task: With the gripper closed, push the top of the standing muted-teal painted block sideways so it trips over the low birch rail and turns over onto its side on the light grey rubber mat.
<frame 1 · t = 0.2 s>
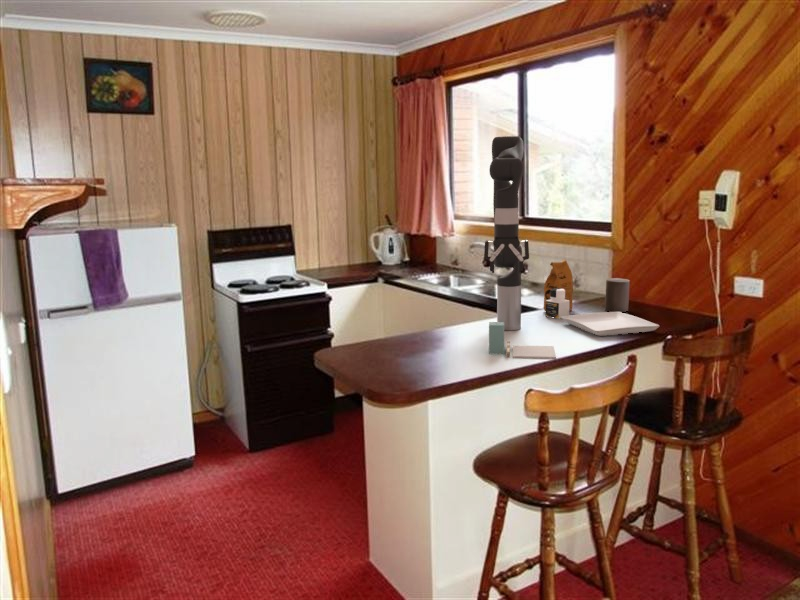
hand: (506, 272, 216), 29 cm above the countertop, tool pointing down, fingers open, 8 cm apart
medicine bottle: (557, 317, 283), on the countertop
coffee package: (557, 311, 294), on the countertop
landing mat: (533, 352, 228), on the countertop
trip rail: (508, 352, 230), on the countertop
square plate: (608, 329, 260), on the countertop
teal block: (496, 352, 230), on the countertop
pillar candle: (616, 311, 291), on the countertop
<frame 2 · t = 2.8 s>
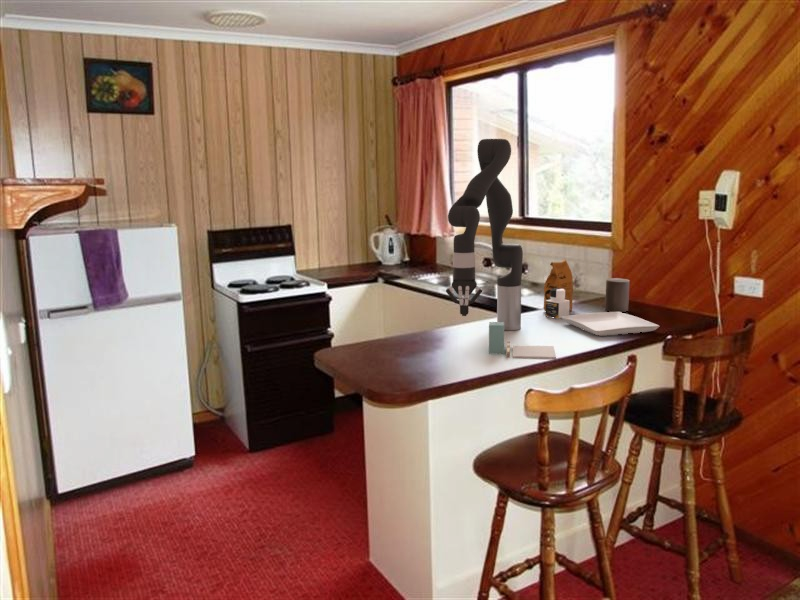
hand: (464, 315, 230), 13 cm above the countertop, tool pointing down, fingers closed
nothing on the countertop moved.
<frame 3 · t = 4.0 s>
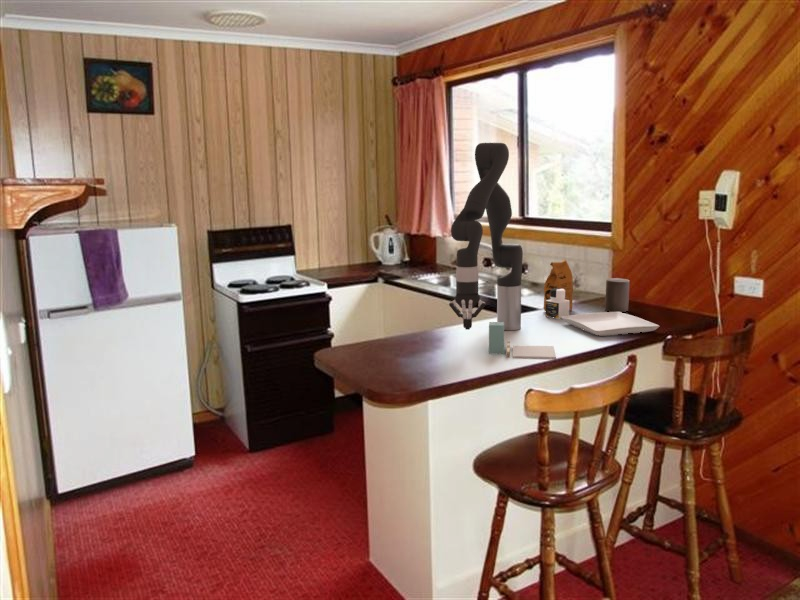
hand: (467, 329, 231), 8 cm above the countertop, tool pointing down, fingers closed
nothing on the countertop moved.
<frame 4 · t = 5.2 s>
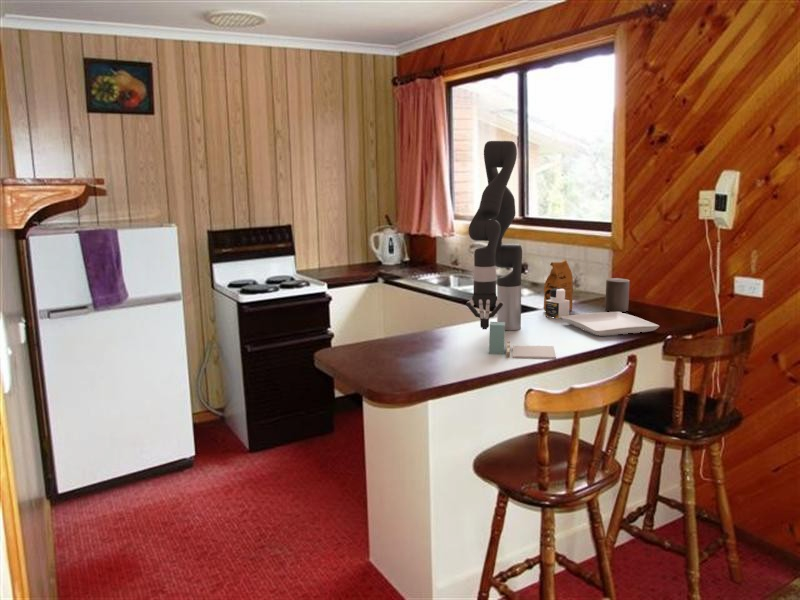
hand: (484, 328, 230), 8 cm above the countertop, tool pointing down, fingers closed
teal block: (496, 351, 230), on the countertop, touching gripper
everything else where it was.
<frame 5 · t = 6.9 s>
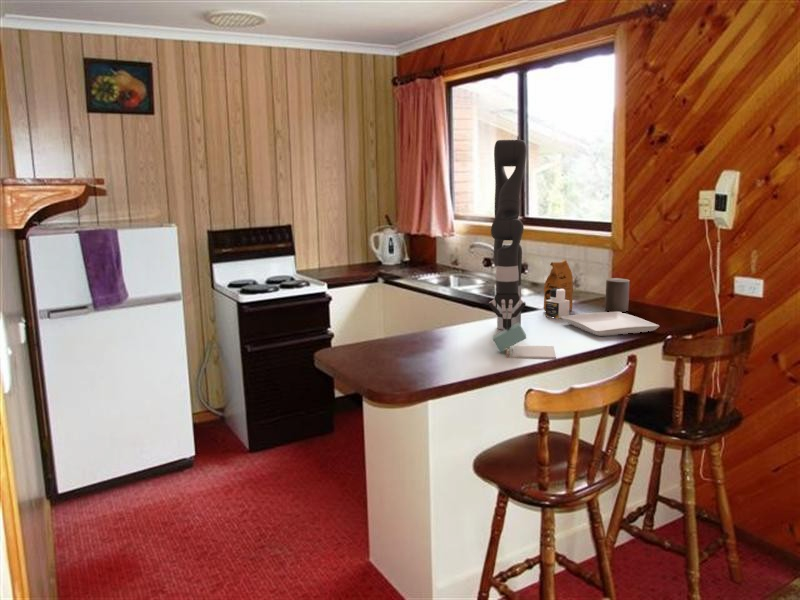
hand: (507, 329, 228), 8 cm above the countertop, tool pointing down, fingers closed
teal block: (496, 343, 230), point 3 cm above the countertop, tilted 61°, touching gripper, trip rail
everything else where it was.
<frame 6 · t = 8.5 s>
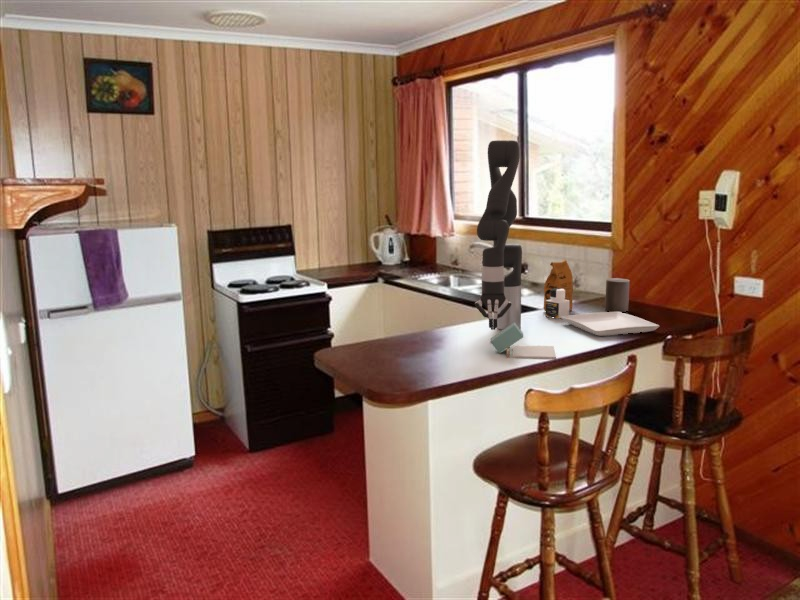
hand: (493, 329, 229), 8 cm above the countertop, tool pointing down, fingers closed
teal block: (494, 346, 230), point 2 cm above the countertop, tilted 54°
everything else where it was.
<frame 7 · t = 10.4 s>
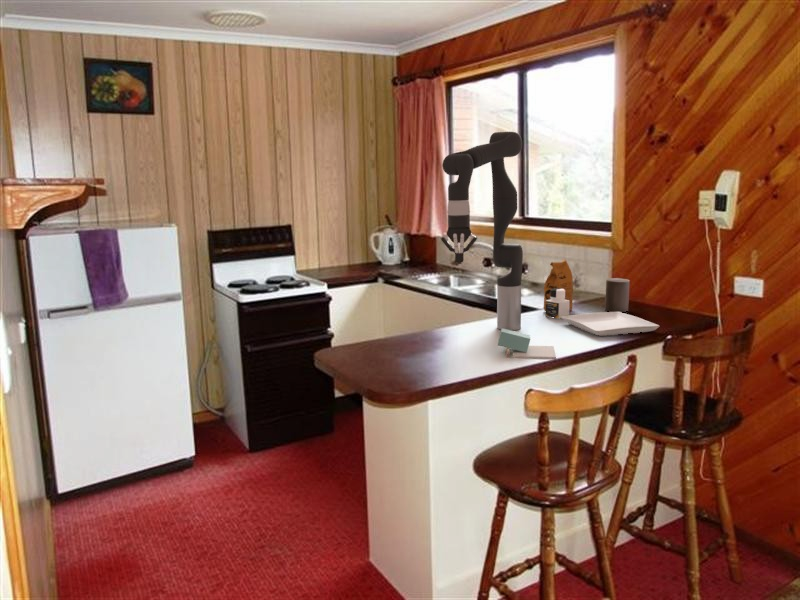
hand: (459, 263, 233), 30 cm above the countertop, tool pointing down, fingers closed
teal block: (499, 336, 229), point 5 cm above the countertop, tilted 104°, touching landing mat, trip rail
everything else where it was.
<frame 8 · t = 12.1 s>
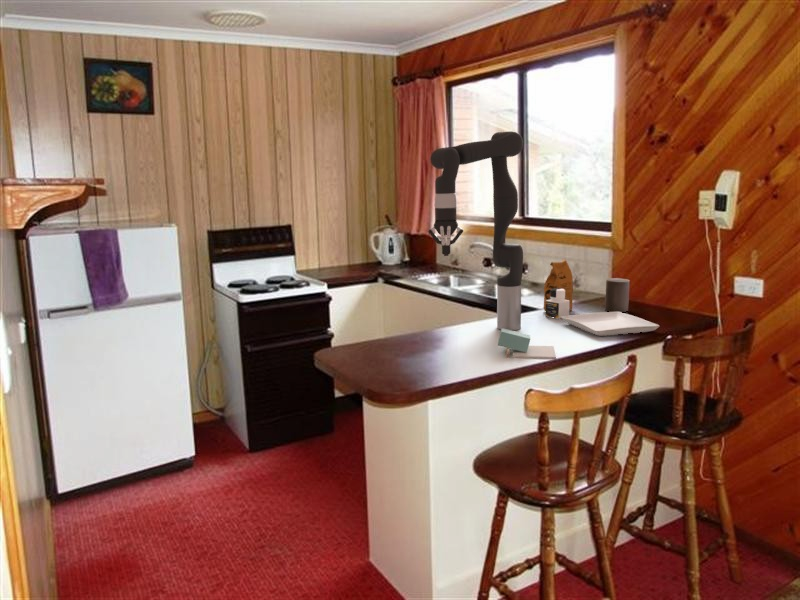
hand: (446, 255, 238), 32 cm above the countertop, tool pointing down, fingers closed
nothing on the countertop moved.
at the end: teal block tilted 104°; teal block inside the target area (8.0 cm from its centre), point 5.5 cm above the countertop; the gripper is holding nothing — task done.
